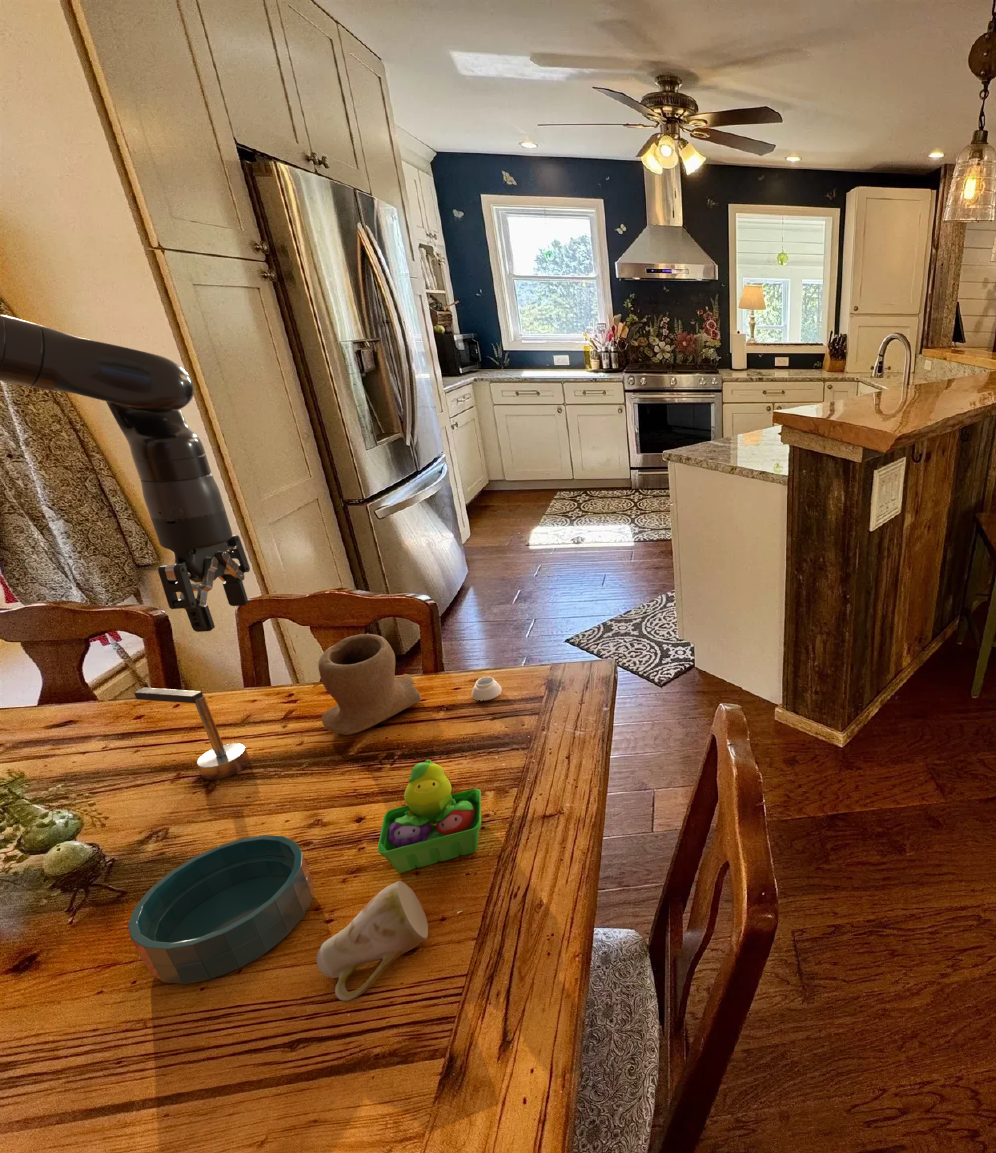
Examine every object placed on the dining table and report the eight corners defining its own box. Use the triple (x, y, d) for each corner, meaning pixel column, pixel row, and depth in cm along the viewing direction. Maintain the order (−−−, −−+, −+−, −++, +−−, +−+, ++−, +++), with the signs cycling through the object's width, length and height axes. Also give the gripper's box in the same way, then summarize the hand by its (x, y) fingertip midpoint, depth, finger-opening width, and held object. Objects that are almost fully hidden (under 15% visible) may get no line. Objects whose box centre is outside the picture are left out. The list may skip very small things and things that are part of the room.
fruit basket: (385, 885, 74) (363, 814, 70) (393, 833, 82) (375, 765, 77) (487, 857, 78) (473, 787, 74) (486, 810, 86) (473, 744, 82)
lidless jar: (490, 704, 109) (507, 689, 114) (487, 690, 108) (505, 676, 113) (466, 700, 110) (484, 685, 115) (463, 686, 109) (481, 672, 114)
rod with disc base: (259, 756, 95) (232, 684, 90) (227, 781, 90) (197, 706, 85) (187, 751, 96) (157, 679, 90) (152, 776, 90) (117, 701, 85)
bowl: (110, 982, 63) (86, 941, 60) (233, 867, 76) (218, 830, 74) (242, 995, 62) (224, 954, 60) (343, 876, 75) (331, 839, 73)
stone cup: (349, 751, 97) (325, 669, 91) (315, 724, 103) (290, 646, 97) (441, 706, 108) (425, 631, 103) (406, 684, 114) (389, 612, 109)
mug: (313, 958, 66) (345, 867, 66) (412, 955, 71) (441, 871, 71) (302, 1007, 59) (337, 906, 60) (412, 1001, 64) (444, 908, 65)
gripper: (188, 496, 88) (221, 599, 94) (114, 525, 75) (158, 642, 81) (248, 495, 90) (277, 596, 96) (186, 523, 77) (224, 638, 83)
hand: (222, 617), depth 89 cm, fingers open, 8 cm apart
